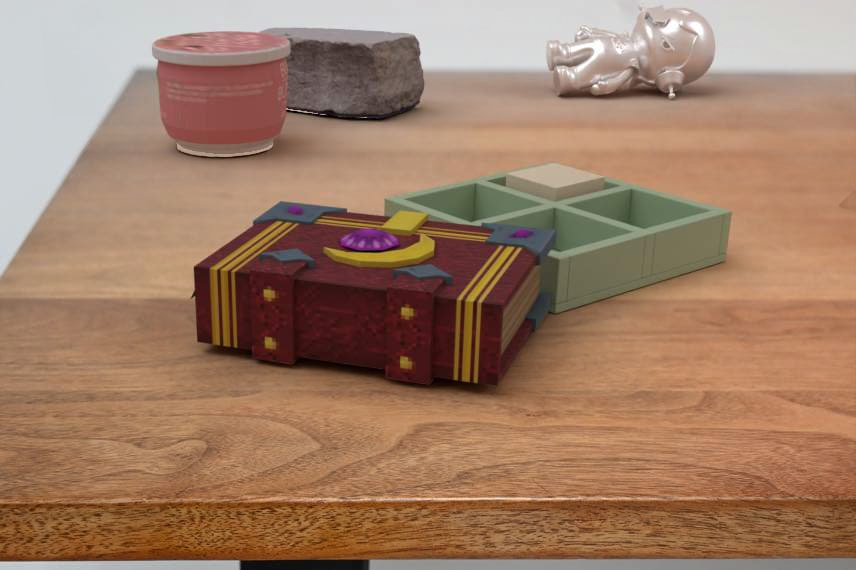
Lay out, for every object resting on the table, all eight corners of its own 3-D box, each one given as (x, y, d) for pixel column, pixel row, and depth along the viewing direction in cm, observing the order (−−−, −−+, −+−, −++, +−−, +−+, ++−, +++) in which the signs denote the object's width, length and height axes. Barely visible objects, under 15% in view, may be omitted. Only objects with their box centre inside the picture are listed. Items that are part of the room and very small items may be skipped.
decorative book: (498, 399, 55) (504, 292, 53) (170, 350, 60) (164, 251, 58) (551, 312, 65) (557, 219, 63) (264, 276, 70) (261, 189, 68)
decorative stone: (421, 126, 105) (425, 97, 114) (422, 43, 102) (426, 20, 111) (247, 125, 107) (265, 96, 116) (243, 43, 104) (262, 20, 113)
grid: (548, 206, 82) (551, 161, 81) (726, 261, 72) (732, 210, 71) (383, 246, 75) (384, 197, 74) (555, 314, 65) (559, 258, 63)
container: (214, 125, 105) (210, 27, 102) (318, 141, 99) (317, 38, 96) (129, 150, 97) (122, 45, 94) (237, 169, 91) (233, 58, 88)
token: (551, 205, 80) (554, 162, 79) (601, 220, 77) (605, 176, 76) (503, 217, 78) (506, 173, 77) (553, 233, 75) (556, 187, 74)
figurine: (540, 1, 114) (703, -33, 114) (535, 49, 121) (689, 17, 120) (569, 98, 110) (739, 63, 110) (563, 142, 117) (722, 109, 117)
